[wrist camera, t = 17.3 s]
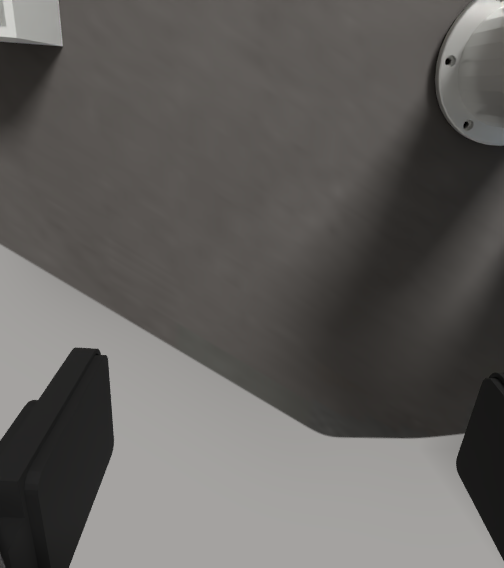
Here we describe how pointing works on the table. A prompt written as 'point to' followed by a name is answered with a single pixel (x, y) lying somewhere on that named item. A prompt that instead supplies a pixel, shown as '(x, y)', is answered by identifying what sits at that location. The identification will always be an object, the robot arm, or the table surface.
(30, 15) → the box
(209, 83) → the table surface
